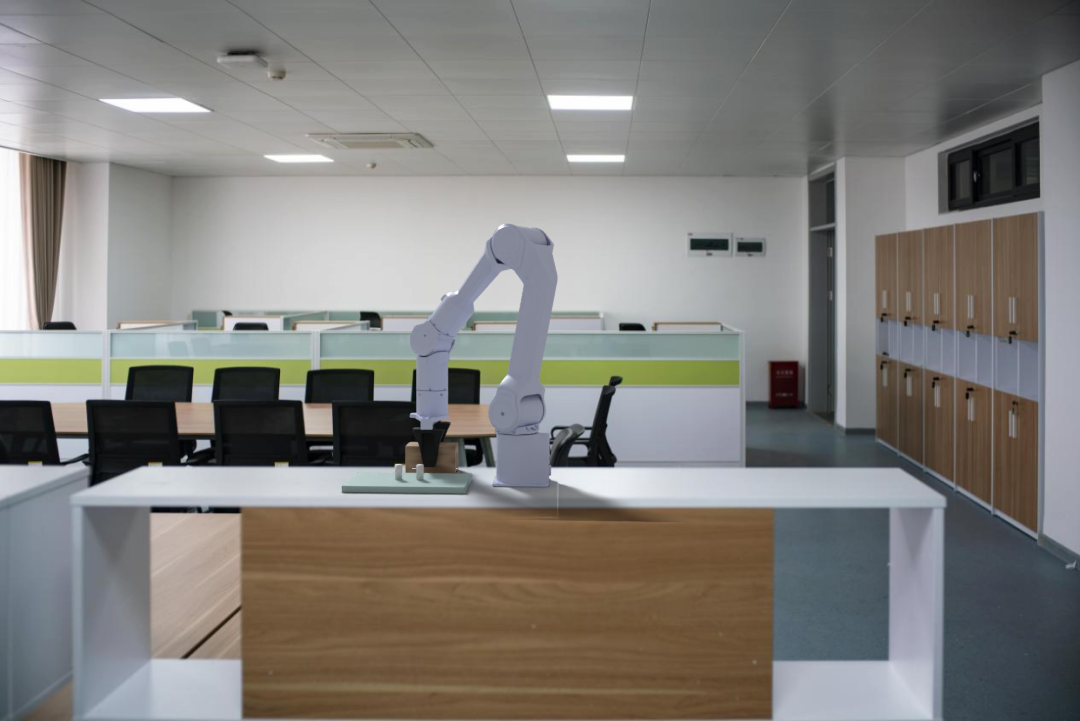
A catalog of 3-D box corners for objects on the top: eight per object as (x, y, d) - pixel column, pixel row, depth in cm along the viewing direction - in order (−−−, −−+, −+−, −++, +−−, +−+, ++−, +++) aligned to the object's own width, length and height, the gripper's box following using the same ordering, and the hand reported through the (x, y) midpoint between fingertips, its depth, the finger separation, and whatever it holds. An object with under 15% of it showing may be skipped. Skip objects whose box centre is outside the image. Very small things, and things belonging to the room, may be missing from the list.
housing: (458, 469, 165) (458, 442, 165) (455, 474, 160) (455, 446, 160) (410, 468, 165) (410, 442, 165) (405, 473, 160) (405, 446, 160)
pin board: (472, 479, 156) (472, 459, 155) (464, 493, 144) (464, 472, 143) (358, 477, 156) (358, 458, 156) (341, 491, 144) (341, 470, 144)
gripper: (416, 386, 169) (416, 456, 170) (403, 393, 155) (403, 470, 155) (453, 386, 169) (453, 457, 170) (443, 393, 155) (443, 471, 155)
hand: (432, 463), depth 163 cm, fingers open, 6 cm apart
